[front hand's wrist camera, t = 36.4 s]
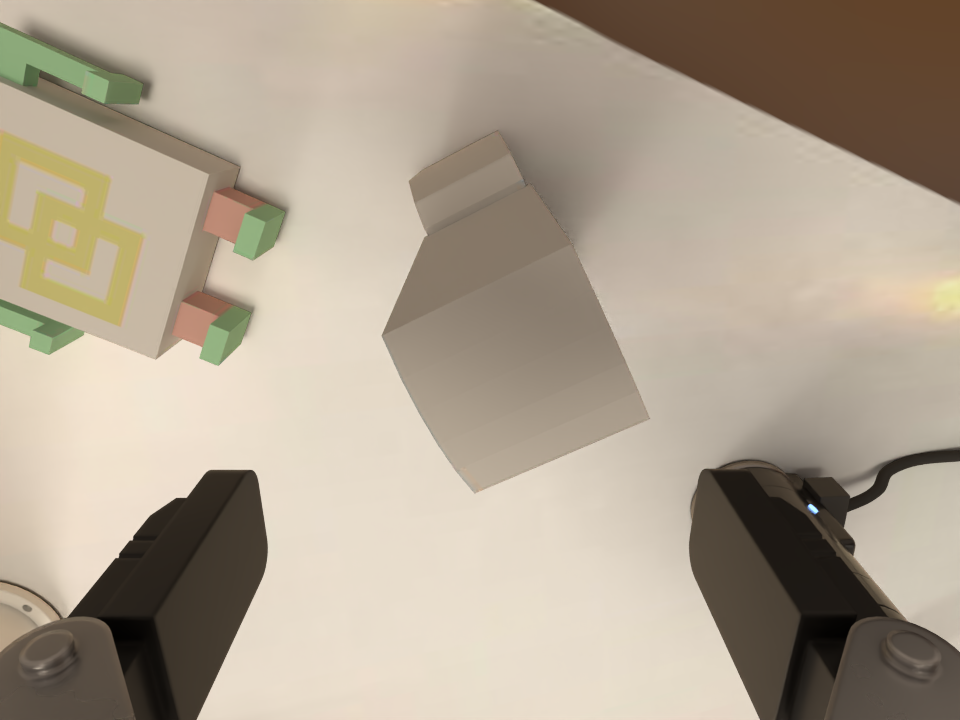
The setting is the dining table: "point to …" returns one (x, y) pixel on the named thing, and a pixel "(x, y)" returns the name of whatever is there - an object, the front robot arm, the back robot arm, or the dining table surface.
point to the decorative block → (111, 215)
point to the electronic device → (503, 325)
